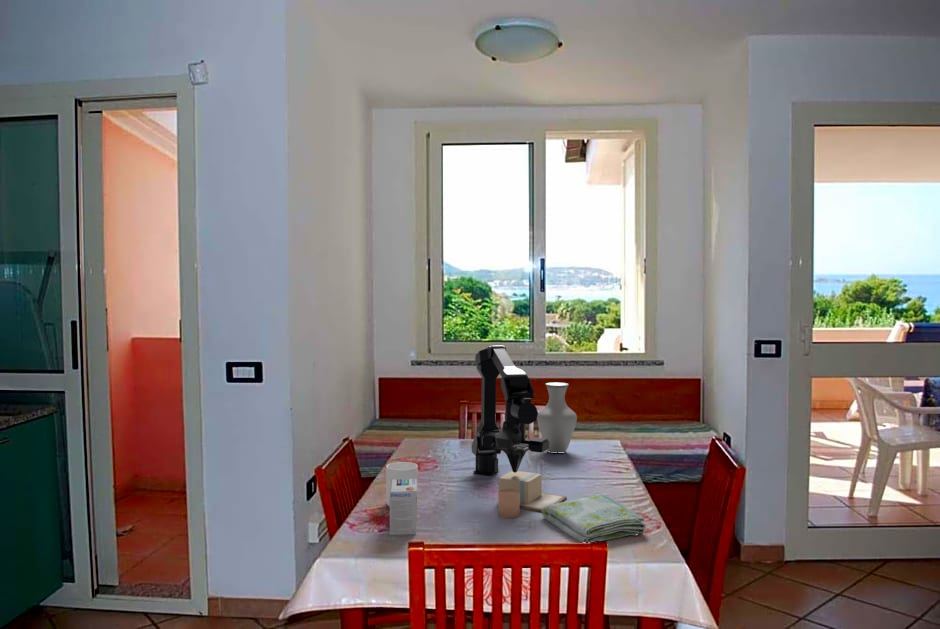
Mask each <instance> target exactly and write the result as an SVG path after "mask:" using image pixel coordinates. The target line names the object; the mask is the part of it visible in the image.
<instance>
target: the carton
mask: <svg viewBox="0 0 940 629" xmlns="http://www.w3.org/2000/svg"><path fill="white" fill-rule="evenodd" d="M542 478H543V477H542V474H541V473H538V472H537V473H536V472H528V471H523V470H522V471H521V470H518V471H517V472H516V473H515V472H513V471H512V470H511V471H509V472H507V473H505V474H504V475H502V476H500V477H498V492H499V491H500V490H504V489H513V490H517V491H519V492H520V503H526V504H529V503H531V502H532V501H534V500H535V499H537V498H538V497H539V496H541V495H542V493H543V492H542V491H543V490H542V484H543V483H542Z"/></svg>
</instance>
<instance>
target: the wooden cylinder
mask: <svg viewBox="0 0 940 629" xmlns="http://www.w3.org/2000/svg"><path fill="white" fill-rule="evenodd" d="M497 500H498V502H497V503H498V506H497V507H498V509H497V510H498V514H497V515H498V517H500V518H503V519H516V518H519V517H520V516H521V512H520V511H521V510H520V509H521V508H520V492H519V491H517V490H513V489H504V490H500V491H499V490H498V499H497Z"/></svg>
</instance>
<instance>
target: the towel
mask: <svg viewBox="0 0 940 629" xmlns="http://www.w3.org/2000/svg"><path fill="white" fill-rule="evenodd" d="M541 515H542V517H543V519H544V520H547V521H548V522H550V523H551V524H552V525H554V526H555V527H557V529H559V530H561V531H563V533H566V534H567V535H568V536H570V537H571V538H573V539H574V540H576V541H577V542H580V543H581V542H591V541H599V542H602V541H606V540H608V541H609V540H613V539H618V538H622V537H626V536H637V535H636V534H639V533H642V534H643V533H644V532H645V529H646V524H645V523H644V522H645V518H644V517H643V516H641V515H640V514H637V513H635V512H634V511H632V510H630V509H629V508H627V507H625V506H624V505H623V504H621V502H618V501H617V500H615V499H613V498H612V497H609V496H608V495H606V494H603V493H602V494H596V495H591V496H586V497H582V498H577V499H573V500H565V501H563V502H561V503H556V504H553V505H548V506H546V507H544V508H543V509H542V512H541ZM639 535H640V534H639Z"/></svg>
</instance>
